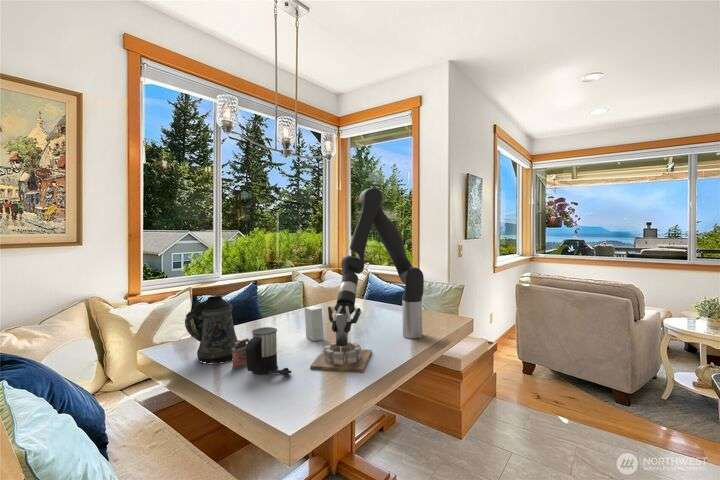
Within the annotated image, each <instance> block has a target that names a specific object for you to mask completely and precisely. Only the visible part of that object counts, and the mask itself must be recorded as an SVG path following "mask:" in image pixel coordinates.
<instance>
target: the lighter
mask: <svg viewBox="0 0 720 480" xmlns="http://www.w3.org/2000/svg"><path fill="white" fill-rule="evenodd" d="M237 340H238V339H237ZM249 340H250V339H249V338H248V337H247V338H243V339H242V340H241V339H239V340H238V342H236V343H235V348H233V349H232V358H233V360H232V367H231V369H232V370H233V371H237V370H240V369H243V368H245V367H246V368H247V360H246V345H247V343H248V341H249Z"/></svg>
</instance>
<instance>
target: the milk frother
mask: <svg viewBox="0 0 720 480" xmlns="http://www.w3.org/2000/svg"><path fill="white" fill-rule="evenodd" d="M277 332H278V329H277V328H276V327H259V328H256V329H253V330H252V331H251V333H252V338H250V339H249V341H248V342H246V344H247V345H246V360H247V366H246V369H247V371H248V372H251V373H254V374H255V375H256V374H257V375H268V374H280V375H282V376H284V377H285V376H286V377H287V376H288V375H289V374H292V370H290V369H289V367H284V368H282V369H279V366H278V355H277V353H278V352H277V351H278V350H277V347H278V346H277V343H278V341H277Z"/></svg>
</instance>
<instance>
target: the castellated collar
mask: <svg viewBox="0 0 720 480" xmlns="http://www.w3.org/2000/svg"><path fill="white" fill-rule="evenodd" d="M372 350H373V349H362V347H361V345H360V344H359V343H356V342H351V341H348V344H347V345H346V346H337V345H336V341H335V342H331V343H329V344H326V345H325V346H324V348H323V349H322V351H321V353H320V354H319V355H318V356H317V357H316V358H315V359H314V361H313V362H312V363H311V364H310V365H309V370H316V371H317V370H320V371H335V372H350V373H351V372H352V373H364V371H365V369H366V367H367V365H368V362H369V360H370V358H371V355H372V353H373V352H372Z"/></svg>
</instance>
